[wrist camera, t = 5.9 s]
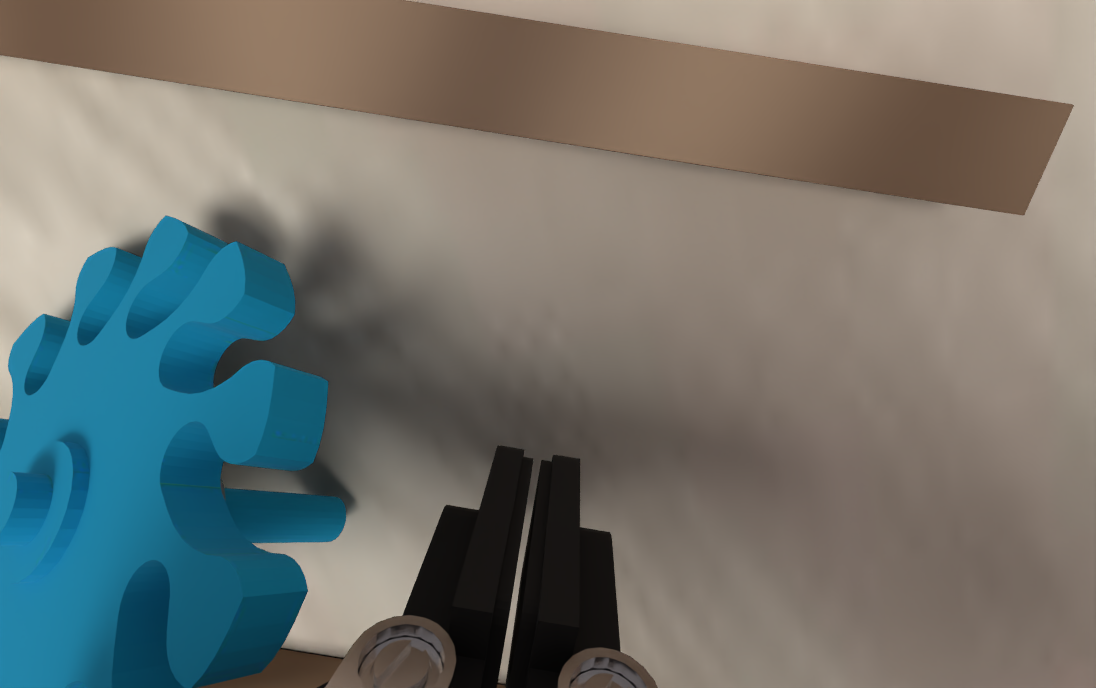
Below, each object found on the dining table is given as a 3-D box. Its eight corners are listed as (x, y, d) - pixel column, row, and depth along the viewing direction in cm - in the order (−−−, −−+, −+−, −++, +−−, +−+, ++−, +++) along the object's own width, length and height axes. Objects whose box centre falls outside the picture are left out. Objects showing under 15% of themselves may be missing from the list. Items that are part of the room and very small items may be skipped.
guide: (973, 113, 9) (1074, 104, 7) (718, 758, 15) (738, 844, 13) (-617, -135, 9) (-919, -207, 7) (-249, 601, 15) (-364, 664, 13)
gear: (244, 86, 8) (185, 1037, 4) (471, 257, 13) (562, 752, 9) (-87, 356, 12) (-308, 984, 7) (187, 409, 17) (149, 807, 12)
